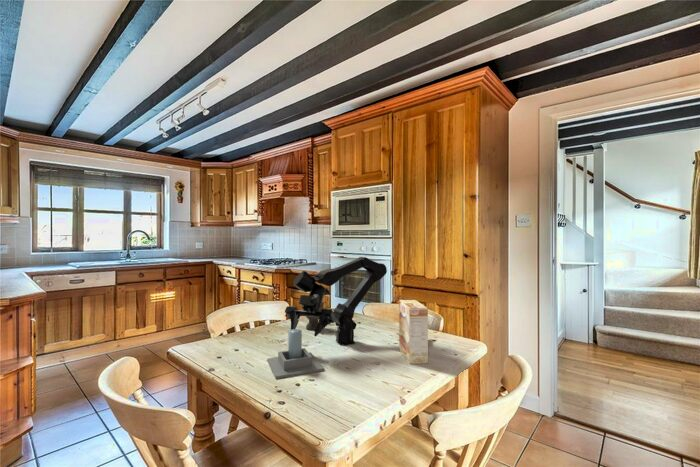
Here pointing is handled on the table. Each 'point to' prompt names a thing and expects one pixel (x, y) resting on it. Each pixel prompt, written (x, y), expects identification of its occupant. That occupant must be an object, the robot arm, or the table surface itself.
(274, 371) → the grey square socket base
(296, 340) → the pale blue rounded cylinder
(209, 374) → the table surface
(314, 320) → the mortar and pestle
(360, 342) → the table surface
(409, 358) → the coffeecake box
